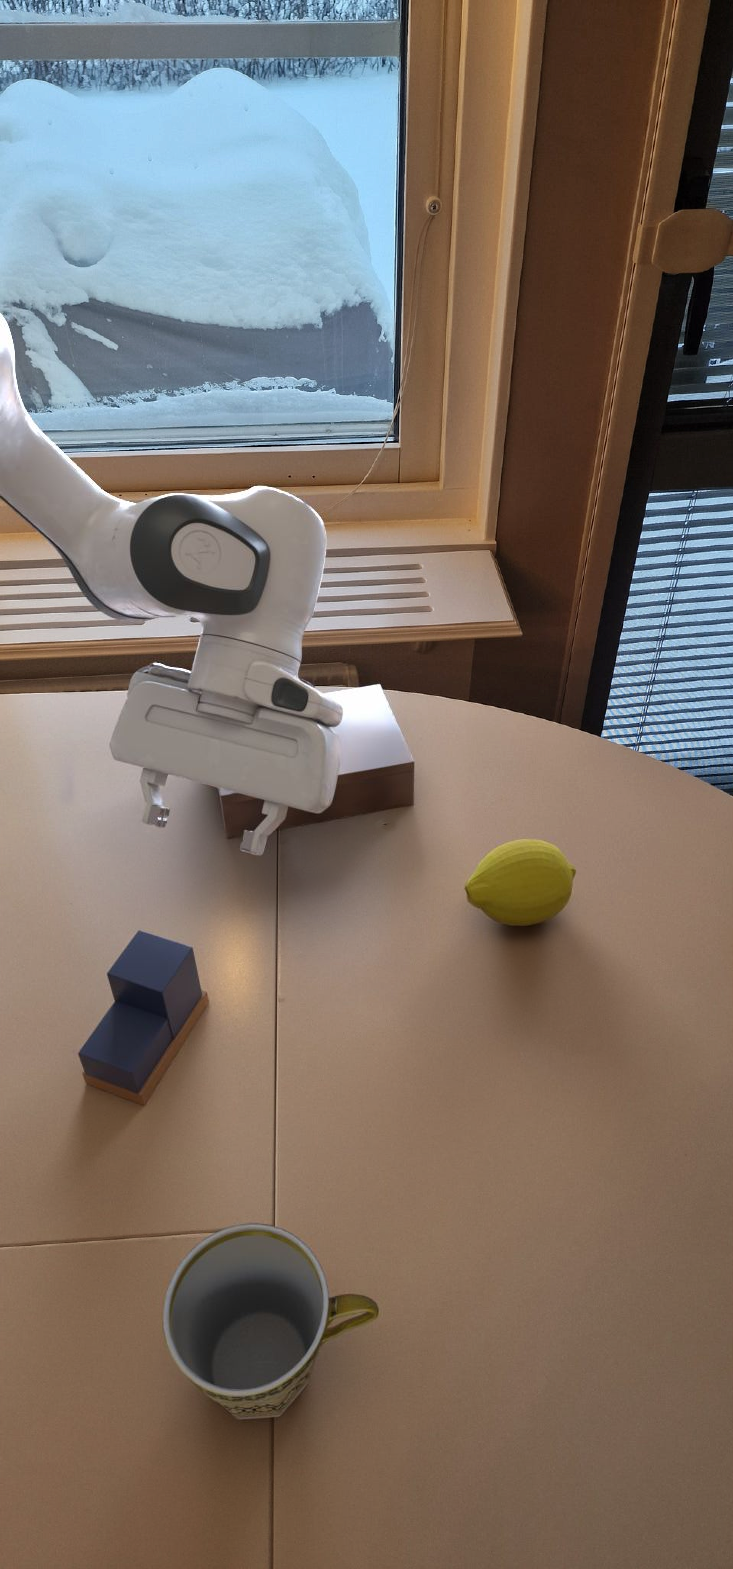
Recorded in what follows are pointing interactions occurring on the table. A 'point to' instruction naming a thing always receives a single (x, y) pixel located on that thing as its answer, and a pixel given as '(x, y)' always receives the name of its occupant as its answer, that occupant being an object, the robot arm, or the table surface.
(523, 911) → the lemon
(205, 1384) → the ceramic cup
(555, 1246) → the table surface
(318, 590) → the robot arm
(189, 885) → the table surface
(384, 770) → the shoe shelf
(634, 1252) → the table surface
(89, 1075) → the trainer
